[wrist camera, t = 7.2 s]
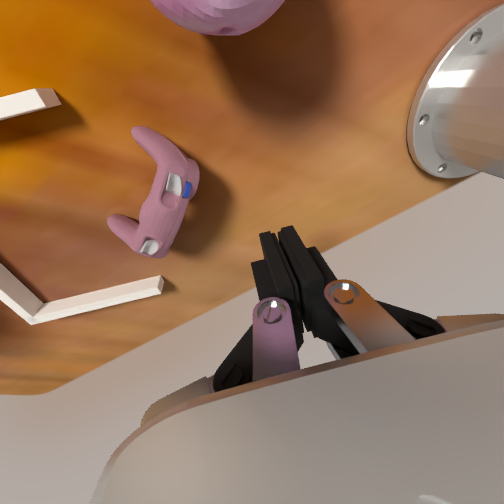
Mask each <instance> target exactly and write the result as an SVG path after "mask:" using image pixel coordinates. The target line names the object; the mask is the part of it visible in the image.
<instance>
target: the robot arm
mask: <svg viewBox="0 0 504 504" xmlns="http://www.w3.org/2000/svg"><path fill="white" fill-rule="evenodd" d="M407 142H408V148H409V152H410V154H411V156H412V159H413V161H414V162H415V163H416V164H417V165H418V167H419V168H421V169H422V170H424V171H425V172H427V173H429V174H431V175H434V176H436V177H441V178H447V179H449V178H461V177H465V176H469V175H472V174H475V173H477V172H480V171H482V172H485V173H488V174H491V175H494V176H497V177H500V178H503V179H504V3H502V4H500V5H498V6H496V7H494V8H492V9H490V10H488V11H486V12H484V13H483V14H481V15H480V16H478V17H477V18H476V19H474V20H473V21H471V22H470V23H468V24H467V25H466V26H465V27H464V28H463V29H462V30H461V31H460V32H459V33H458V34H456V35H455V36H454V37H453V38H452V39H451V40H450V41H449V43H448V44H447V45H446V46H445V47H444V49H443V50H442V51H441V52H440V53H439V55H438V56H437V57H436V59H435V60H434V62H433V63H432V65H431V66H430V68H429V69H428V71H427V72H426V74H425V76H424V78H423V80H422V82H421V84H420V86H419V88H418V90H417V92H416V95H415V97H414V100H413V103H412V106H411V109H410V114H409V119H408V124H407ZM259 237H260V241H261V246H262V250H263V254H264V259H263V260H259V261H256V262H252V263H251V266H252V270H253V275H254V279H255V283H256V287H257V292H258V296H259V300H260V302H259V303H258V304H257V305H256V306H255V308H254V310H253V324H252V325H251V327H250V328H249V329H248V330H247V332H246V333H245V334H244V336H243V337H242V338H241V340H240V341H239V342H238V343H237V345H236V346H235V347H234V348H233V350H232V351H231V352H230V354H229V355H228V356H227V357H226V359H225V360H224V361H223V363H222V364H221V365H220V366H219V368H218V369H217V371H216V373H215V375H213V376H211V377H209V378H207V377H206V376H205V377H203V378H201V379H199V380H197V381H195V382H193V383H191V384H189V385H187V386H185V387H183V388H181V389H179V390H177V391H175V392H173V393H171V394H169V395H167V396H166V397H163V398H161V399H159V400H158V401H156V402H155V403H153V404H152V405H151V406H150V407H149V408H148V409H147V411H146V412H145V414H144V416H143V418H142V421H141V427H139V428H138V429H137V430H136V431H134V432H133V433H132V434H131V435H130V436H129V437H128V438H127V439H126V440H124V441H123V442H122V443H121V445H119V447H118V448H117V449H116V450H115V451H114V453H113V454H112V455H111V457H110V459H109V461H108V462H107V464H106V466H105V467H104V469H103V472H102V474H101V476H100V478H99V480H98V483H97V485H96V488H95V490H94V493H93V495H92V498H91V501H90V504H504V314H478V315H460V316H459V315H457V316H438V317H437V319H434V320H433V319H432V318H429V317H427V316H425V315H422V314H419V313H416V312H412V311H409V310H406V309H403V308H399V307H396V306H393V305H390V304H387V303H383V302H380V301H376V300H374V299H373V298H372V297H371V296H370V295H369V294H368V293H367V292H366V291H365V290H364V289H363V288H362V287H361V286H360V285H358V284H357V283H355V282H353V281H350V280H337V278H336V277H335V275H334V274H333V272H332V271H331V269H330V268H329V266H328V265H327V263H326V262H325V260H324V259H323V257H322V256H321V254H320V253H319V251H318V250H317V248H316V247H310V248H306V247H305V246H304V244H303V242H302V241H301V239H300V237H299V236H298V234H297V232H296V231H295V229H294V227H293V226H292V225H291V226H287V227H283V228H281V231H280V232H278V238H279V241H278V239H277V237H276V235H275V233H272V234H271V233H270V231H268V232H264V233H260V234H259ZM302 320H303V321H302ZM303 323H304V325H305V328H306V330H307V332H309V331H312V334H313V336H314V338H316V337H318V338H320V339H322V340H324V341H326V343H327V346H328V348H329V349H330V351H331V352H332V354H333V355H334V357H335V359H336V360H335V361H331V362H328V363H324V364H320V365H317V366H312V367H308V368H304V369H301V370H300V364H299V358H298V351H299V349H300V347H301V345H302V344H303V342H304V340H303V334H302V333H304V328H303Z"/></svg>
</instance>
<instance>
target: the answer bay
mask: <svg viewBox="0 0 504 504" xmlns="http://www.w3.org/2000/svg"><path fill="white" fill-rule="evenodd" d="M58 105H62V104H61V102H60V101H59V99H58V97H57V95H56V94H55V92H54V90H53V89H52V88H40V89H31V90H27V91H24V92H20V93H16V94H12V95H8V96H5V97H1V98H0V120H4V119H8V118H12V117H16V116H20V115H23V114H27V113H31V112H35V111H39V110H43V109H46V108H50V107H54V106H58ZM163 285H164V280H163V278H162V277H161V275H159V276H155V277H151V278H147V279H143V280H139V281H135V282H131V283H126V284H122V285H118V286H114V287H110V288H106V289H102V290H98V291H93V292H89V293H85V294H81V295H77V296H73V297H69V298H65V299H60V300H56V301H52V302H48V303H43V302H42V301H40V300H39V299H38V298H37V297H36V296H35V295H34V294H33V293H32V292H31V291H30V290H29V289H28V288H27V287H26V286H24V285H23V284H22V283H21V282H20V281H19V280H18V279H17V278H16V277H15V276H14V275H13V274H12V273H11V272H10V271H8V270H7V269H6V268H5V267H4V266H3V265H2V264H1V263H0V300H1V301H3V302H4V303H5V304H6V305H7V306H9V307H10V308H11V309H12V310H13V311H15V312H16V313H17V314H18V315H19V316H21V317H22V318H23V319H24V320H26V321H27V322H28V323H29V324H30V325H33V324H37V323H41V322H45V321H50V320H54V319H58V318H62V317H66V316H70V315H74V314H79V313H83V312H87V311H91V310H95V309H99V308H104V307H108V306H112V305H116V304H120V303H124V302H128V301H133V300H137V299H141V298H145V297H149V296H153V295H157V294H161V292H162V288H163Z"/></svg>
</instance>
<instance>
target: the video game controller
mask: <svg viewBox="0 0 504 504" xmlns="http://www.w3.org/2000/svg"><path fill="white" fill-rule="evenodd" d="M131 134H132V136H133V137H134V139H135V141H136V142H137V143H138V144H139V145H140V146H141V147H142V148H143V149H144V150H145V151H146V152H147V153H148V154H149V155H150V156H151V157H152V158H153V159H154V160H155V162H156V164H157V167H158V168H157V173H156V175H155V178H154V181H153V185H152V188H151V192H150V194H149V196H148V197H147V198H146V200H145V202H144V203H143V205H142V207H141V210H140V214H139V223H137V222H136V221H134V220H132V219H130V218H128V217H125V216H122V215H118V214H115V215H111V216H109V217H108V219H107V224H108V226H109V228H110V229H111V230H112V231H113V232H114V233H115V234H116V235H117V236H118V237H119V238H121V239H122V240H123V241H124V242H125V243H126V244H127V245H128V246H129V247H130V248H131V249H132V250H133V251H135V252H136V253H138V254H141V255H143V256H147V257H151V258H164V257H165V256H166V255H167V254H168V252H169V249H170V246H171V245H172V243H173V240H174V238H175V236H176V234H177V232H178V230H179V228H180V225H181V223H182V221H183V218H184V215H185V212H186V209H187V206H188V202H189V201H190V200H191V199H192V198H193V197H194V195H195V193H196V191H197V188H198V184H199V167H198V165H197V163H196V162H195V161H194V160H192V159H190V158H188V157H187V156H186V155H185V154H184V153H183V152H182V151H181V150H180V149H179V148H178V147H177V146H176V145H175V144H173V143H172V142H171V141H170V140H168V139H167V138H166V137H164V136H163V135H161V134H159V133H158V132H156V131H154V130H152V129H150V128H148V127H144V126H135V127H133V128H132V130H131Z"/></svg>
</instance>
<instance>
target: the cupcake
mask: <svg viewBox="0 0 504 504" xmlns="http://www.w3.org/2000/svg"><path fill="white" fill-rule="evenodd" d="M150 1H151V2H152V3H153V5H154V6H155V7H156V8H157V9H158V10H159V11H160V12H161V13H162V14H163V15H165V16H166V17H167V18H168V19H169V20H171V21H173V22H174V23H176V24H177V25H179V26H181V27H183V28H186V29H188V30H190V31H193V32H197V33H201V34H207V35H241V34H243V33H246V32H248V31H250V30H252V29H254V28H256V27H258V26H260V25H261V24H262V23H264V22H265V21H266V20H267V19H268V18H270V17H271V16H272V15H273V14H274V13H275V12H276V11H277V9H278V8H279V7H280V6H281V5H282V4H283V2H284V1H285V0H150Z"/></svg>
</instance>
